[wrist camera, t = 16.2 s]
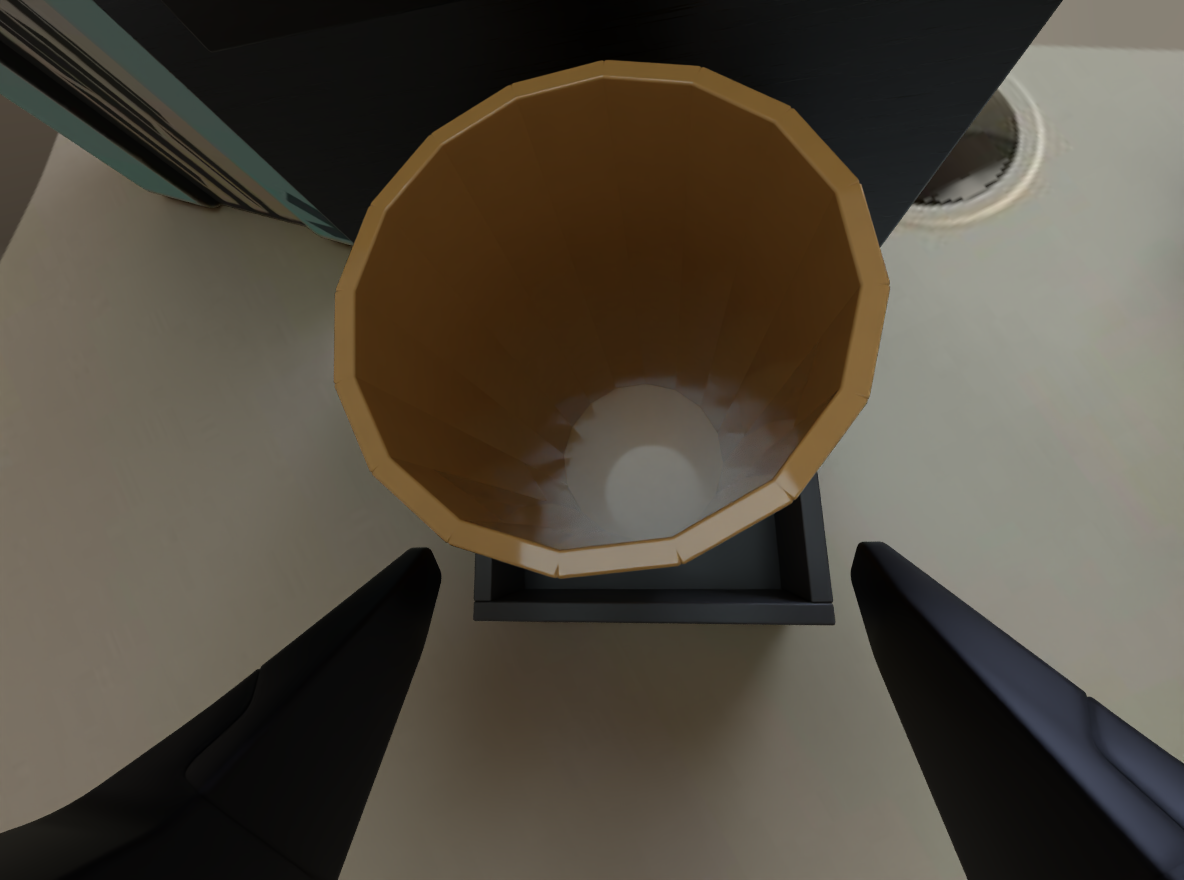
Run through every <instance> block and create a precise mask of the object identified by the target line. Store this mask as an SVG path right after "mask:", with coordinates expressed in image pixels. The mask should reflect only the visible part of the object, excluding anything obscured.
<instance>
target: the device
mask: <svg viewBox="0 0 1184 880" xmlns="http://www.w3.org/2000/svg"><path fill="white" fill-rule="evenodd" d="M0 94H1V95H3V96H4V97H6V98H7V99H9V100H10V101H12V102H13V103H15V104H16V105H18V106H19V107H21V108H22V109H24V110H25V111H27V112H28V113H30V114H31V115H33V116H35V117H36V118H37V119H39V120H40V121H42V122H43V123H45V124H47V125H48V126H50V127H51V128H52V129H54V130H56V131H57V132H59V133H60V134H62V135H63V136H65V137H66V138H68V139H69V140H71V141H72V142H74V143H75V144H77V145H78V146H80V147H81V148H83V149H84V150H86V151H87V152H89V153H90V154H92V155H93V156H95V157H96V158H98V159H99V160H101V161H102V162H104V163H105V164H107V165H108V166H110V167H111V168H113V169H114V170H116V171H117V172H119V173H121V174H122V175H124V176H125V177H127V178H128V179H130V180H131V181H133V182H134V183H136V184H137V185H139V186H140V187H142V188H143V189H145V190H147V191H149V192H152V193H156V194H160V195H164V196H167V197H171V198H175V199H179V200H182V201H186V202H190V203H194V204H197V205H201V206H205V207H210V208H213V207H218V206H220V205H221V204H222V205H226V206H230V207H233V208H237V209H241V210H245V211H249V212H253V213H256V214H260V215H264V216H268V217H272V218H276V219H279V220H283V221H287V222H291V223H295V224H299V225H302V226H306V227H308V228H309V229H311V230H312V231H313V232H314V233H315V234H317V235H318V236H320V237H322V238H326V239H330V240H333V241H337V242H341V243H345V244H348V245H352V246H353V243H352V242H351V241H350V240H349V239H348V238H347V237H346V236H345V235H344V234H343V233H342V232H341V231H339V230H338V229H337V228H336V227H335V226H334V225H333V224H332V223H331V222H330V221H329V220H328V219H327V218H325V217H324V216H323V215H322V214H321V213H320V212H319V211H318V210H317V209H316V208H315V207H314V206H313V205H312V204H310V203H309V202H308V201H307V200H306V199H305V198H304V197H303V196H302V195H301V194H300V193H299V192H298V191H297V190H295V189H294V188H293V187H292V186H291V185H290V184H289V183H288V182H287V181H286V180H285V179H284V178H283V177H281V176H280V175H279V174H278V173H277V172H276V171H275V170H274V169H273V168H272V167H271V166H270V165H269V164H268V163H266V162H265V161H264V160H263V159H262V158H261V157H260V156H259V155H258V154H257V153H256V152H255V151H254V150H253V149H251V148H250V147H249V146H248V145H247V144H246V143H245V142H244V141H243V140H242V139H241V138H240V137H239V136H237V135H236V134H235V133H234V132H233V131H232V130H231V129H230V128H229V127H228V126H227V125H226V124H225V123H224V122H222V121H221V120H220V119H219V118H218V117H217V116H216V115H215V114H214V113H213V112H212V111H211V110H210V109H208V108H207V107H206V106H205V105H204V104H203V103H202V102H201V101H200V100H199V99H198V98H197V97H196V96H195V95H193V94H192V93H191V92H190V91H189V90H188V89H187V88H186V87H185V86H184V85H183V84H182V83H181V82H180V81H178V80H177V79H176V78H175V77H174V76H173V75H172V74H171V73H170V72H169V71H168V70H167V69H166V68H164V67H163V66H162V65H161V64H160V63H159V62H158V61H157V60H156V59H155V58H154V57H153V56H152V55H151V54H149V53H148V52H147V51H146V50H145V49H144V48H143V47H142V46H141V45H140V44H139V43H138V42H137V41H136V40H134V39H133V38H132V37H131V36H130V35H129V34H128V33H127V32H126V31H125V30H124V29H123V28H122V27H120V26H119V25H118V24H117V23H116V22H115V21H114V20H113V19H112V18H111V17H110V16H109V15H108V14H107V13H105V12H104V11H103V10H102V9H101V8H100V7H99V6H98V5H97V4H96V3H95V2H94V1H93V0H0Z"/></svg>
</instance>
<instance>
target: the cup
mask: <svg viewBox="0 0 1184 880" xmlns="http://www.w3.org/2000/svg"><path fill="white" fill-rule="evenodd" d="M370 205H371V206H369V207H368V209H367V212H366V214H365V217H364V219H363V222H362V224H361V227H360V229H359V232H358V234H357V237H356V239H355V242H354V244H353V247H352V249H351V252H350V254H349V257H348V260H347V262H346V265H345V267H344V270H343V272H342V275H341V277H340V280H339V282H338V285H337V287H336V292H335V324H334V383H335V388H336V391H337V393H338V396H339V398H340V400H341V403H342V405H343V408H344V410H345V413H346V415H347V417H348V420H349V422H350V425H351V427H352V429H353V432H354V434H355V437H356V439H357V441H358V444H359V446H360V449H361V451H362V454H363V456H364V458H365V461H366V463H367V466H368V468H369V470H370V472H372V475H373V476H374V477H375V478H376V479H377V480H378V481H380V482H381V483H382V484H383V485H384V486H385V487H386V488H387V489H388V490H389V491H390V492H391V493H393V494H394V495H395V496H396V497H397V498H398V499H399V500H400V501H401V502H402V503H403V504H405V505H406V506H407V507H408V508H409V509H410V510H411V511H412V512H413V513H414V514H415V515H416V516H418V517H419V518H420V519H421V520H422V521H423V522H424V523H425V524H426V525H427V526H428V527H429V528H431V529H432V530H433V531H434V532H435V533H436V534H437V535H438V536H439V537H440V538H441V539H443V540H444V541H445V542H446V543H449V544H450V545H451V546H455V547H458V548H461V549H464V550H467V551H470V552H473V553H476V554H479V555H483V556H486V557H489V558H492V559H495V560H498V561H501V562H504V563H508V564H511V565H514V566H517V567H520V568H523V569H526V570H529V571H532V572H536V573H539V574H542V575H545V576H548V577H551V578H559V579H566V578H576V577H585V576H594V575H603V574H612V573H622V572H631V571H640V570H649V569H659V568H668V567H677V566H680V565H681V564H686V563H688V562H690V561H692V560H693V559H695V558H697V557H699V556H700V555H702V554H704V553H706V552H707V551H709V550H711V549H713V548H714V547H716V546H718V545H720V544H721V543H723V542H725V541H727V540H729V539H730V538H732V537H734V536H736V535H737V534H739V533H741V532H743V531H744V530H746V529H748V528H750V527H751V526H753V525H755V524H757V523H758V522H760V521H762V520H764V519H765V518H767V517H769V516H771V515H772V514H774V513H776V512H778V511H779V510H781V509H783V508H785V507H787V506H788V505H790V504H792V502H793V501H794V500H796V499H797V498H798V497H799V495H800V494H801V493H802V491H803V490H804V488H805V487H806V486H807V484H808V483H809V482H810V480H811V479H812V478H813V476H814V475H815V473H816V472H817V471H818V469H819V468H820V467H821V465H822V464H823V463H824V461H825V460H826V458H827V457H828V456H829V454H830V453H831V452H832V450H833V449H834V448H835V446H836V445H837V443H838V442H839V441H840V439H841V438H842V437H843V435H844V434H845V433H846V431H847V430H848V428H849V427H850V426H851V424H852V423H853V422H854V420H855V419H856V418H857V416H858V415H859V413H860V412H861V411H862V409H863V408H864V407H865V405H866V404H867V401H868V399H869V397H870V393H871V388H872V382H873V377H874V372H875V366H876V361H877V356H878V350H879V345H880V340H881V334H882V329H883V324H884V318H885V313H886V308H887V302H888V297H889V292H890V286H889V284H890V281H889V278H888V274H887V271H886V267H885V264H884V260H883V257H882V254H881V250H880V247H879V243H878V240H877V236H876V233H875V230H874V226H873V223H872V219H871V216H870V212H869V209H868V205H867V202H866V199H865V195H864V192H863V188H862V185H861V184H860V183H859V179H858V178H857V177H856V176H855V175H854V174H853V173H852V172H851V171H850V170H849V168H848V167H847V166H846V165H845V164H844V163H843V162H842V161H841V160H840V159H839V157H838V156H837V155H836V154H835V153H834V152H833V151H832V150H831V149H830V148H829V146H828V145H827V144H826V143H825V142H824V141H823V140H822V139H821V138H820V137H819V135H818V134H817V133H816V132H815V131H814V130H813V129H812V128H811V127H810V126H809V125H808V123H807V122H806V121H805V120H804V119H803V118H802V117H801V116H800V115H799V114H798V112H797V111H796V110H795V109H794V108H791V106H790V105H787V104H785V103H783V102H781V101H779V100H776V99H774V98H772V97H770V96H767V95H765V94H763V93H761V92H759V91H756V90H754V89H752V88H750V87H747V86H745V85H743V84H741V83H739V82H736V81H734V80H732V79H730V78H728V77H725V76H723V75H721V74H719V73H716V72H714V71H712V70H710V69H708V68H705V67H702V68H701V66H695V65H680V64H665V63H650V62H635V61H620V60H605V61H603V60H600V61H596V62H592V63H588V64H585V65H581V66H577V67H573V68H569V69H565V70H561V71H558V72H554V73H550V74H546V75H542V76H538V77H534V78H531V79H527V80H523V81H519V82H515V83H513V84H512V85H508V86H506V87H504V88H503V89H501V90H500V91H498V92H496V93H495V94H493V95H492V96H490V97H488V98H487V99H485V100H484V101H482V102H480V103H479V104H477V105H476V106H474V107H472V108H471V109H469V110H468V111H466V112H464V113H463V114H461V115H460V116H458V117H456V118H455V119H453V120H451V121H450V122H448V123H447V124H445V125H443V126H442V127H440V128H439V129H437V130H435V131H434V132H432V133H431V135H429V136H428V137H427V138H426V139H425V140H424V141H423V143H422V144H421V145H420V146H419V147H418V149H417V150H416V151H415V152H414V153H413V154H412V156H411V157H410V158H409V159H408V160H407V161H406V163H405V164H404V165H403V166H402V167H401V168H400V170H399V171H398V172H397V173H396V174H395V175H394V177H393V178H392V179H391V180H390V181H389V182H388V184H387V185H386V186H385V187H384V188H383V189H382V191H381V192H380V193H379V194H378V195H377V196H376V198H375V199H374V200H373V201H372V202H371V204H370Z"/></svg>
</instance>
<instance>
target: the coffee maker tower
mask: <svg viewBox="0 0 1184 880" xmlns="http://www.w3.org/2000/svg"><path fill="white" fill-rule="evenodd" d="M93 1H94V2H95V3H96V4H97V5H98V6H99V7H100V8H101V9H102V10H103V11H104V12H105V13H107V14H108V15H109V16H110V17H111V18H112V19H113V20H114V21H115V22H116V23H117V24H118V25H119V26H120V27H122V28H123V29H124V30H125V31H126V32H127V33H128V34H129V35H130V36H131V37H132V38H133V39H134V40H136V41H137V42H138V43H139V44H140V45H141V46H142V47H143V48H144V49H145V50H146V51H147V52H148V53H149V54H151V55H152V56H153V57H154V58H155V59H156V60H157V61H158V62H159V63H160V64H161V65H162V66H163V67H164V68H166V69H167V70H168V71H169V72H170V73H171V74H172V75H173V76H174V77H175V78H176V79H177V80H178V81H180V82H181V83H182V84H183V85H184V86H185V87H186V88H187V89H188V90H189V91H190V92H191V93H192V94H193V95H195V96H196V97H197V98H198V99H199V100H200V101H201V102H202V103H203V104H204V105H205V106H206V107H207V108H208V109H210V110H211V111H212V112H213V113H214V114H215V115H216V116H217V117H218V118H219V119H220V120H221V121H222V122H224V123H225V124H226V125H227V126H228V127H229V128H230V129H231V130H232V131H233V132H234V133H235V134H236V135H237V136H239V137H240V138H241V139H242V140H243V141H244V142H245V143H246V144H247V145H248V146H249V147H250V148H251V149H253V150H254V151H255V152H256V153H257V154H258V155H259V156H260V157H261V158H262V159H263V160H264V161H265V162H266V163H268V164H269V165H270V166H271V167H272V168H273V169H274V170H275V171H276V172H277V173H278V174H279V175H280V176H281V177H283V178H284V179H285V180H286V181H287V182H288V183H289V184H290V185H291V186H292V187H293V188H294V189H295V190H297V191H298V192H299V193H300V194H301V195H302V196H303V197H304V198H305V199H306V200H307V201H308V202H309V203H310V204H312V205H313V206H314V207H315V208H316V209H317V210H318V211H319V212H320V213H321V214H322V215H323V216H324V217H325V218H327V219H328V220H329V221H330V222H331V223H332V224H333V225H334V226H335V227H336V228H337V229H338V230H339V231H341V232H342V233H343V234H344V235H345V236H346V237H347V238H348V239H349V240H350V241H351V242H352V243H353V244H354V242H355V239H356V237H357V234H358V232H359V229H360V227H361V224H362V222H363V219H364V217H365V214H366V212H367V209H368V207H369V206H371V205H370V204H371V202H372V201H373V200H374V199H375V198H376V196H377V195H378V194H379V193H380V192H381V191H382V189H383V188H384V187H385V186H386V185H387V184H388V182H389V181H390V180H391V179H392V178H393V177H394V175H395V174H396V173H397V172H398V171H399V170H400V168H401V167H402V166H403V165H404V164H405V163H406V161H407V160H408V159H409V158H410V157H411V156H412V154H413V153H414V152H415V151H416V150H417V149H418V147H419V146H420V145H421V144H422V143H423V141H424V140H425V139H426V138H427V137H428V136H429V135H431V133H432V132H434V131H435V130H437V129H439V128H440V127H442V126H443V125H445V124H447V123H448V122H450V121H451V120H453V119H455V118H456V117H458V116H460V115H461V114H463V113H464V112H466V111H468V110H469V109H471V108H472V107H474V106H476V105H477V104H479V103H480V102H482V101H484V100H485V99H487V98H488V97H490V96H492V95H493V94H495V93H496V92H498V91H500V90H501V89H503V88H504V87H506V86H508V85H512V84H513V83H515V82H519V81H523V80H527V79H531V78H534V77H538V76H542V75H546V74H550V73H554V72H558V71H561V70H565V69H569V68H573V67H577V66H581V65H585V64H588V63H592V62H596V61H600V60H603V61H605V60H620V61H635V62H650V63H665V64H680V65H695V66H701V68H702V67H705V68H708V69H710V70H712V71H714V72H716V73H719V74H721V75H723V76H725V77H728V78H730V79H732V80H734V81H736V82H739V83H741V84H743V85H745V86H747V87H750V88H752V89H754V90H756V91H759V92H761V93H763V94H765V95H767V96H770V97H772V98H774V99H776V100H779V101H781V102H783V103H785V104H787V105H790V106H791V108H794V109H795V110H796V111H797V112H798V114H799V115H800V116H801V117H802V118H803V119H804V120H805V121H806V122H807V123H808V125H809V126H810V127H811V128H812V129H813V130H814V131H815V132H816V133H817V134H818V135H819V137H820V138H821V139H822V140H823V141H824V142H825V143H826V144H827V145H828V146H829V148H830V149H831V150H832V151H833V152H834V153H835V154H836V155H837V156H838V157H839V159H840V160H841V161H842V162H843V163H844V164H845V165H846V166H847V167H848V168H849V170H850V171H851V172H852V173H853V174H854V175H855V176H856V177H857V178H858V179H859V183H860V184H861V185H862V188H863V192H864V195H865V199H866V202H867V205H868V209H869V212H870V216H871V219H872V223H873V226H874V230H875V233H876V236H877V240H878V243H879V247H881V246H882V244H883V243H884V242H885V240H886V239H887V238H888V236H889V235H890V234H891V232H892V231H893V229H894V228H895V227H896V225H897V224H898V223H899V221H900V220H901V219H902V217H903V216H904V215H905V213H906V212H907V210H908V209H909V208H910V206H911V205H912V204H913V202H914V201H915V200H916V198H917V197H918V196H919V194H920V193H921V192H922V190H923V189H924V187H925V186H926V185H927V183H928V182H929V181H930V179H931V178H932V177H933V175H934V174H935V173H936V171H937V170H938V169H939V167H940V166H941V164H942V163H943V162H944V160H945V159H946V158H947V156H948V155H949V154H950V152H951V151H952V150H953V148H954V147H955V146H956V144H957V143H958V141H959V140H960V139H961V137H962V136H963V135H964V133H965V132H966V131H967V129H968V128H969V127H970V125H971V124H972V122H973V121H974V120H975V118H976V117H977V116H978V114H979V113H980V112H981V110H982V109H983V108H984V106H985V105H986V104H987V102H988V101H989V99H990V98H991V97H992V95H993V94H994V93H995V91H996V90H997V89H998V87H999V86H1000V85H1001V83H1002V82H1003V81H1004V79H1005V78H1006V76H1007V75H1008V74H1009V72H1010V71H1011V70H1012V68H1013V67H1014V66H1015V64H1016V63H1017V62H1018V60H1019V59H1020V58H1021V56H1022V55H1023V53H1024V52H1025V51H1026V49H1027V48H1028V47H1029V45H1030V44H1031V43H1032V41H1033V40H1034V38H1035V37H1036V36H1037V34H1038V33H1039V32H1040V30H1041V29H1042V27H1043V26H1044V25H1045V24H1046V22H1047V21H1048V20H1049V18H1050V17H1051V16H1052V14H1053V13H1054V11H1055V10H1056V9H1057V7H1058V6H1059V5H1060V3H1061V2H1062V1H1063V0H93Z"/></svg>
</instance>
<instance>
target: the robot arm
mask: <svg viewBox="0 0 1184 880" xmlns="http://www.w3.org/2000/svg"><path fill="white" fill-rule="evenodd" d="M851 581H852V585H853V588H854V591H855V595H856V598H857V601H858V605H859V608H860V612H861V615H862V618H863V622H864V625H865V629H866V632H867V635H868V639H869V642H870V645H871V649H872V652H873V655H874V658H875V660H876V663H877V665H878V668H879V670H880V673H881V675H882V678H883V680H884V682H885V685H886V687H887V689H888V692H889V694H890V697H891V699H892V701H893V704H894V706H895V708H896V711H897V713H898V716H899V718H900V720H901V723H902V725H903V727H904V730H905V732H906V734H907V737H908V739H909V742H910V744H911V746H912V749H913V751H914V753H915V756H916V758H917V761H918V763H919V765H920V768H921V770H922V772H923V775H924V777H925V780H926V782H927V784H928V787H929V789H930V791H931V794H932V796H933V799H934V801H935V803H936V806H937V808H938V810H939V813H940V815H941V817H942V820H943V822H944V825H945V827H946V829H947V832H948V834H949V836H950V839H951V841H952V844H953V846H954V848H955V851H956V853H957V855H958V858H959V860H960V863H961V865H962V867H963V870H964V872H965V874H966V877H967V879H968V880H1184V763H1182V762H1181V761H1179V760H1178V759H1176V758H1175V757H1173V756H1172V755H1171V754H1169V753H1168V752H1166V751H1165V750H1163V749H1162V748H1161V747H1159V746H1158V745H1157V744H1155V743H1154V742H1152V741H1151V740H1150V739H1148V738H1147V737H1145V736H1144V735H1143V734H1141V733H1140V732H1139V731H1137V730H1136V729H1134V728H1133V727H1132V726H1130V725H1129V724H1128V723H1126V722H1125V721H1123V720H1122V719H1121V718H1119V717H1118V716H1117V715H1115V714H1114V713H1113V712H1111V711H1110V710H1109V709H1107V708H1106V707H1104V706H1103V705H1102V704H1100V703H1099V702H1098V701H1096V700H1095V699H1094V698H1092V697H1087V696H1086V693H1085V692H1084V691H1083V690H1081V689H1080V688H1079V687H1077V686H1076V685H1075V684H1073V683H1072V682H1071V681H1069V680H1068V679H1067V678H1065V677H1064V676H1063V675H1061V674H1060V673H1059V672H1057V671H1056V670H1055V669H1053V668H1052V667H1051V666H1049V665H1048V664H1047V663H1045V662H1044V661H1043V660H1041V659H1040V658H1038V657H1037V656H1036V655H1034V654H1033V653H1032V652H1030V651H1029V650H1028V649H1026V648H1025V647H1024V646H1022V645H1021V644H1020V643H1018V642H1017V641H1016V640H1014V639H1013V638H1012V637H1010V636H1009V635H1008V634H1006V633H1005V632H1004V631H1002V630H1001V629H1000V628H998V627H997V626H996V625H994V624H993V623H992V622H990V621H989V620H988V619H986V618H985V617H983V616H982V615H981V614H979V613H978V612H977V611H975V610H974V609H973V608H971V607H970V606H969V605H967V604H966V603H965V602H963V601H962V600H961V599H959V598H958V597H957V596H955V595H954V594H953V593H951V592H950V591H949V590H947V589H946V588H945V587H943V586H942V585H941V584H939V583H938V582H937V581H935V580H934V579H933V578H931V577H930V576H929V575H927V574H926V573H924V572H923V571H922V570H920V569H919V568H918V567H916V566H915V565H914V564H912V563H911V562H910V561H908V560H907V559H906V558H904V557H903V556H902V555H900V554H899V553H898V552H896V551H895V550H894V549H892V548H891V547H890V546H888V545H887V544H885V543H883V542H861V543H859V544H858V546H857V549H856V553H855V557H854V560H853V564H852V568H851ZM440 584H441V571H440V569H439V566H438V564H437V562H436V559H435V557H434V555H433V553H432V551H431V550H430V549H429V548H427V547H417V548H411V549H409V550H407V551H406V552H405V553H404V554H402V555H401V556H400V557H399V558H397V559H396V560H395V561H394V562H392V563H391V564H390V565H388V566H387V567H386V568H385V569H383V570H382V571H381V572H380V573H378V574H377V575H376V576H375V577H373V578H372V579H371V580H370V581H368V582H367V583H366V584H364V585H363V586H362V587H361V588H359V589H358V590H357V591H356V592H354V593H353V594H352V595H351V596H349V597H348V598H347V599H346V600H344V601H343V602H342V603H340V604H339V605H338V606H337V607H335V608H334V609H333V610H332V611H330V612H329V613H328V614H327V615H325V616H324V617H323V618H322V619H320V620H319V621H318V622H316V623H315V624H314V625H313V626H311V627H310V628H309V629H308V630H306V631H305V632H304V633H303V634H301V635H300V636H299V637H298V638H296V639H295V640H294V641H292V642H291V643H290V644H289V645H287V646H286V647H285V648H284V649H282V650H281V651H280V652H279V653H277V654H276V655H275V656H274V657H272V658H271V659H270V660H268V661H267V662H266V663H265V664H263V665H262V666H261V668H260V669H257V670H256V671H254V672H253V673H252V674H251V675H249V676H248V677H247V678H246V679H244V680H243V681H242V682H241V683H239V684H238V685H237V686H235V687H234V688H233V689H232V690H230V691H229V692H228V693H226V694H225V695H224V696H222V697H221V698H220V699H218V700H217V701H216V702H215V703H213V704H212V705H211V706H209V707H208V708H207V709H205V710H204V711H203V712H201V713H200V714H198V715H197V716H196V717H194V718H193V719H192V720H190V721H189V722H187V723H186V724H185V725H183V726H182V727H181V728H179V729H178V730H176V731H175V732H174V733H172V734H171V735H169V736H168V737H166V738H165V739H164V740H162V741H161V742H159V743H158V744H157V745H155V746H154V747H152V748H151V749H150V750H148V751H147V752H145V753H144V754H142V755H141V756H140V757H138V758H137V759H135V760H134V761H133V762H131V763H130V764H128V765H127V766H126V767H124V768H123V769H121V770H120V771H118V772H117V773H116V774H114V775H113V776H111V777H110V778H109V779H107V780H106V781H104V782H103V783H102V784H100V785H99V786H97V787H96V788H94V789H93V790H91V791H90V792H88V793H87V794H85V795H84V796H82V797H81V798H79V799H77V800H75V801H74V802H72V803H70V804H69V805H67V806H65V807H63V808H61V809H59V810H57V811H55V812H53V813H51V814H49V815H47V816H44V817H42V818H40V819H38V820H35V821H33V822H30V823H28V824H25V825H22V826H20V827H17V828H14V829H11V830H8V831H6V832H3V833H0V880H338V877H339V875H340V872H341V869H342V867H343V864H344V861H345V859H346V856H347V853H348V851H349V848H350V845H351V842H352V840H353V837H354V834H355V832H356V829H357V826H358V824H359V821H360V818H361V816H362V813H363V810H364V808H365V805H366V802H367V799H368V797H369V794H370V791H371V789H372V786H373V783H374V781H375V778H376V775H377V773H378V770H379V767H380V764H381V762H382V759H383V756H384V754H385V751H386V748H387V746H388V743H389V740H390V738H391V735H392V732H393V730H394V727H395V724H396V721H397V719H398V716H399V713H400V711H401V708H402V705H403V703H404V700H405V697H406V695H407V692H408V689H409V687H410V684H411V681H412V678H413V676H414V673H415V670H416V668H417V665H418V662H419V660H420V657H421V654H422V651H423V648H424V645H425V642H426V638H427V635H428V631H429V627H430V623H431V619H432V615H433V611H434V608H435V604H436V600H437V596H438V592H439V588H440Z"/></svg>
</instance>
